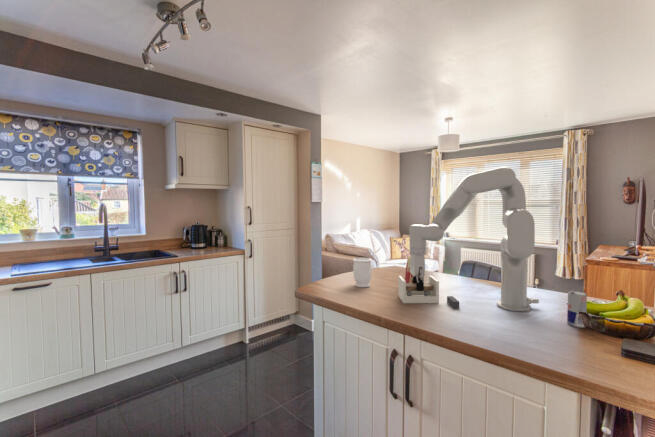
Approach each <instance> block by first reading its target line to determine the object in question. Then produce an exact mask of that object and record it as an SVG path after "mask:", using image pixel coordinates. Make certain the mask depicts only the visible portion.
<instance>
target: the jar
mask: <svg viewBox="0 0 655 437" xmlns="http://www.w3.org/2000/svg"><path fill="white" fill-rule="evenodd" d="M352 261H353V264H352V265H353V266H352V272H353V278H354V281H355V284H354V285H355V287H358V288H369V287H371V284H370V283H371V280H372V274H373V264H372V261H373V260H372V258H370V257H364V256H363V257H355V258H353V259H352Z"/></svg>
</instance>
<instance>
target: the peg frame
mask: <svg viewBox="0 0 655 437" xmlns="http://www.w3.org/2000/svg"><path fill="white" fill-rule="evenodd" d="M397 278H398V279H397V280H398V297H399V299H400V300H401V302H402V304H439V303H440V281H439V280H438V279H437V278H436V277H434V276H433V275H429V276H428V283H430V284H431V285H432V286H433V291H406V281H405V278H404V277H402V275H398V277H397Z"/></svg>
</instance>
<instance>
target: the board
mask: <svg viewBox="0 0 655 437" xmlns="http://www.w3.org/2000/svg"><path fill="white" fill-rule="evenodd" d="M406 291H417V290H416V283H406ZM424 291H433V286H432V285H431V284H430V283H429V282H424Z"/></svg>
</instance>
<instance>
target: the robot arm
mask: <svg viewBox="0 0 655 437" xmlns="http://www.w3.org/2000/svg"><path fill="white" fill-rule="evenodd" d="M496 190H498V191H499V192H500V195H501V198H502V199H501V201H502V219H501V221H502V225H503V226H504V227H505V228H506V235H504V237H503V238H502V239H501V241H500V246H499V247H500V248H499V250H500V257H501V258H500V261H501V264H500V265H501V267H500V270H501V271H500V272H501V273H500V274H501V275H500V276H501V278H500V300H497V301H496V305H497V306H498V307H499V308H501V309H504V310H508V311H511V312H512V311H513V312H529V311H531V310H532V306H531V304H539V303H540V301H539V299H538V298H532V297H527V296H528V292H527V291H528V259H529V258H530V257H531V256H532V255H533V254H534V251H535V247H536V246H535V245H536V244H535V243H536V242H535V239H536V237H535V236H536V234H535V233H536V232H535V231H536V230H535V225H536V224H535V220H534V217H533V214H532V213H531V212H530V211H529V210H527V202H526V200H527V198H526V191H525V187H524V186H523V184H522V182H521V181H520V180H519V179H518V178H517V176H516V172H515V171H514V169H512V168H511V167H507V166H501V167H496V168H493V169H489V170H484V171H481V172H475V173H470V174H468V175H466V176H465V177H464V178H463V179H462V180H461V181H460V182H459V184H458V185H457V186H456V188H455V189H454V191H453V192H452V193H451V194H450V196H449V197H448V198H447V200H446V201H445V202H444V204H443V206H442V207H441V209H440V210H439V212H438V213H437V214H436V216H435V217H434V218H433V219H432V221H431V222H430V224H428V225H424V224H410V225H409V230H408V232H409V255H411V258H410V273H411V274H412V275H413V278H412V282H413V283H416V290H417V291H424V283H425V280H424V278H425V275H426V262H425V261H426V259H425V256H426V255H427V241H431V242H439V241H441V240H442V239H443V238H444V236H445V232H446V230H448V228H449V227H450V225H451V224H452V223H453V222H454V221H455V220H456V219H457V218H458V217H460V216H461V215H462V214H463V213H464V212H465V211H466V209H467V208H468V206H469V205H470V204H471V203H472V201H473V200H474V198H475V197H476V196H477V195H478V194H481V193H486V192H491V191H496ZM419 277H420V278H419Z"/></svg>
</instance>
